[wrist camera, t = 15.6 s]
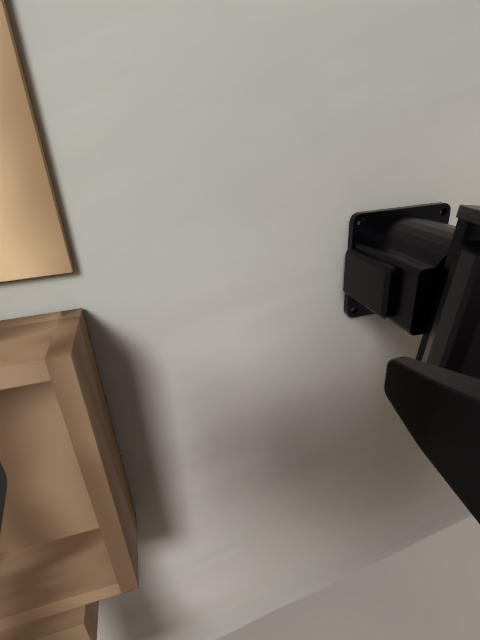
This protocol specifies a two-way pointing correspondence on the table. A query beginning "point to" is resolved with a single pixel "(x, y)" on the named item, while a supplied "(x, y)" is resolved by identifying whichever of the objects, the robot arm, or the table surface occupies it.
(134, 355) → the table surface
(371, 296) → the robot arm
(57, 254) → the lid
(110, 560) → the toolbox
